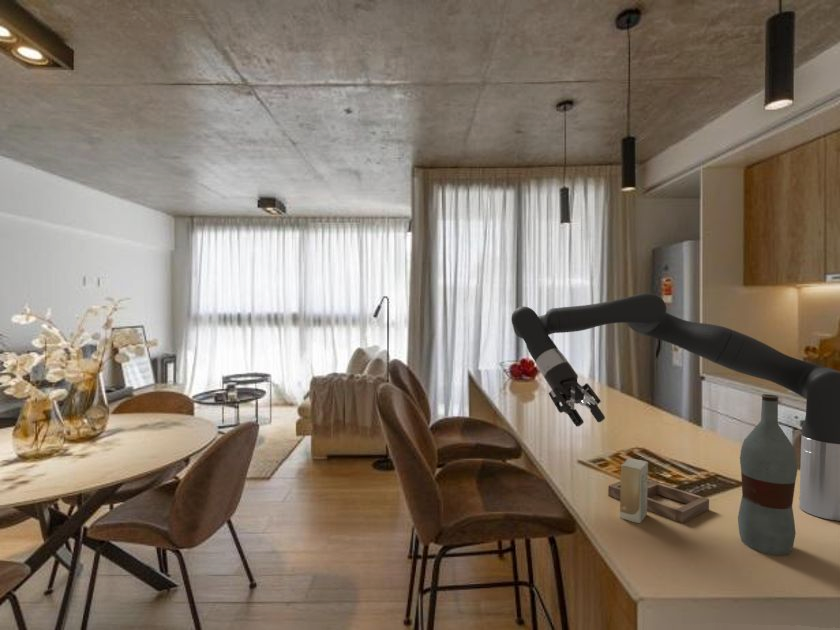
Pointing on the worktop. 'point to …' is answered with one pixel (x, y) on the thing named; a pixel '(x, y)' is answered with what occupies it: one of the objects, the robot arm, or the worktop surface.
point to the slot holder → (682, 514)
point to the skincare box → (633, 490)
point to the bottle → (768, 485)
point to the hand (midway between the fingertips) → (591, 422)
